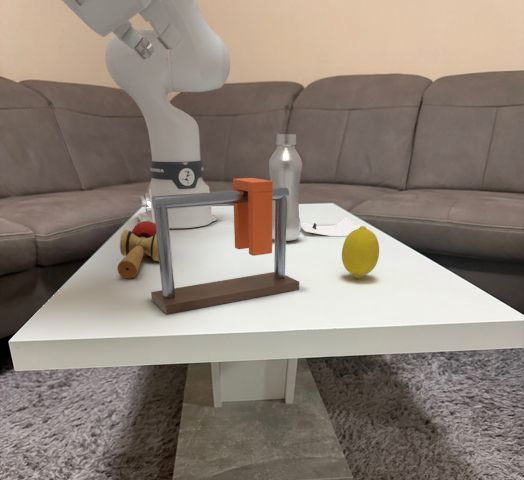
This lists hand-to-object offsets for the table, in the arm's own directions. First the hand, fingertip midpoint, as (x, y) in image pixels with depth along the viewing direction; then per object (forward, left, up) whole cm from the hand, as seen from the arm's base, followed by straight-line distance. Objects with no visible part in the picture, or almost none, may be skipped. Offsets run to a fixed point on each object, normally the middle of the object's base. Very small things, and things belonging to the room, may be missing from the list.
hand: (161, 50), depth 54 cm
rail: (+7, +4, -29) cm, 31 cm away
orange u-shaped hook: (+7, +8, -24) cm, 26 cm away
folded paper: (-22, +43, -30) cm, 57 cm away
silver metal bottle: (-18, +29, -30) cm, 45 cm away
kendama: (-15, -1, -30) cm, 33 cm away
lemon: (+10, +25, -30) cm, 40 cm away
